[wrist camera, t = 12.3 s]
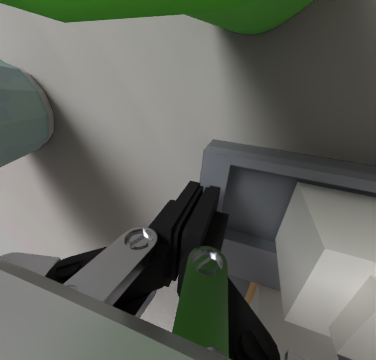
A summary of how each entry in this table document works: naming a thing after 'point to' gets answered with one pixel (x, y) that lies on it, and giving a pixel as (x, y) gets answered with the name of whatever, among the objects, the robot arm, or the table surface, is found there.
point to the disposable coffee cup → (22, 114)
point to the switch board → (267, 202)
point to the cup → (172, 11)
